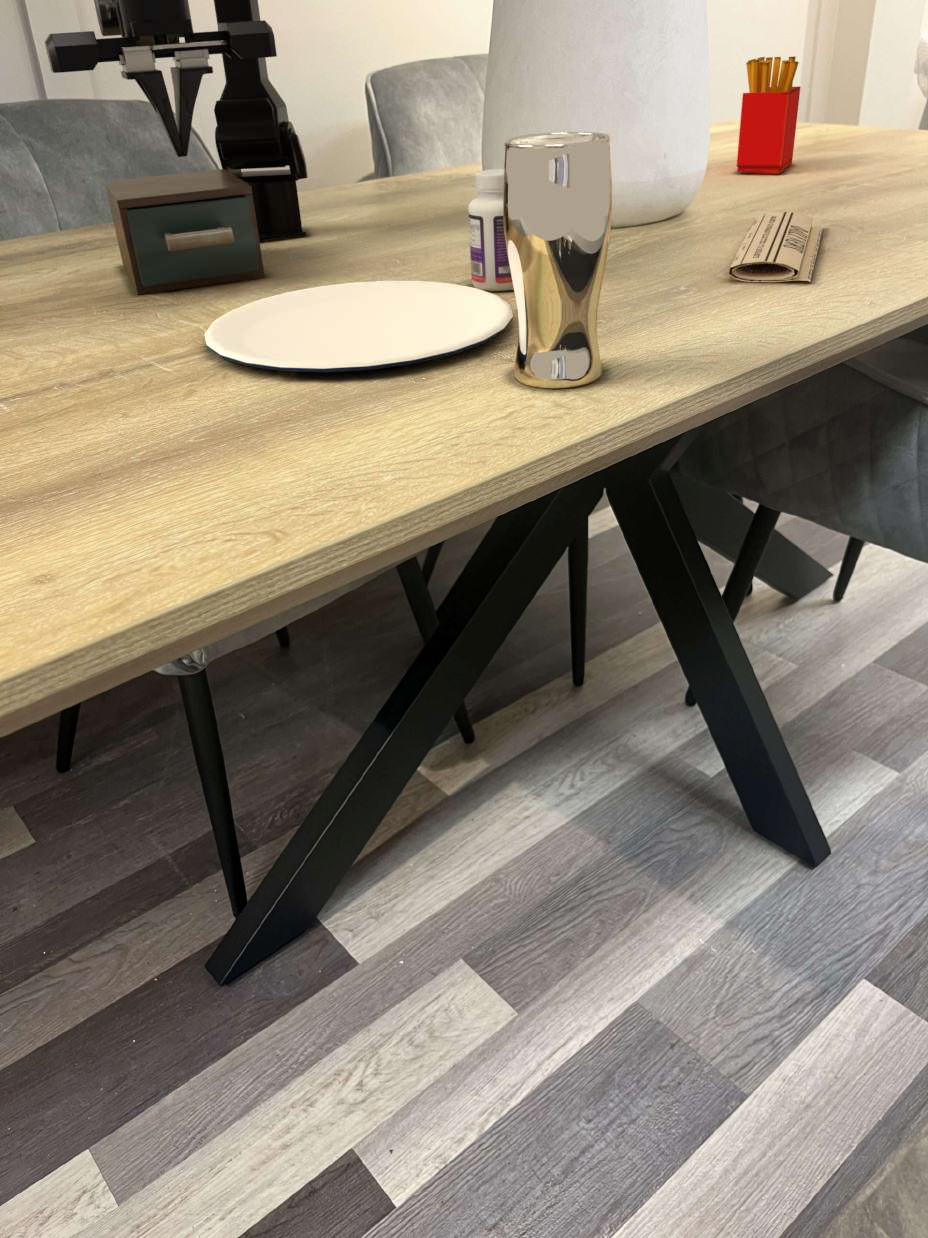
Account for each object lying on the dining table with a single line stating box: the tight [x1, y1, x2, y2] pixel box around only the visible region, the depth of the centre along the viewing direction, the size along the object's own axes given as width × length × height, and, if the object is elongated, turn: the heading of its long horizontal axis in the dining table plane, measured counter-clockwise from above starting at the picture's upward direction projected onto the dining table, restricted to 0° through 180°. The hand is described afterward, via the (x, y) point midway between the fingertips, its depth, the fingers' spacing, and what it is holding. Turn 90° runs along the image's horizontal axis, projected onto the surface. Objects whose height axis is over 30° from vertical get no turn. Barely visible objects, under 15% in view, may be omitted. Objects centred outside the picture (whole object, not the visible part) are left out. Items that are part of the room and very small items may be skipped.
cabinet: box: [104, 168, 266, 296], centre depth 102 cm, size 15×13×9 cm
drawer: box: [126, 196, 260, 287], centre depth 99 cm, size 18×11×7 cm, turn 22°
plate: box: [203, 280, 514, 373], centre depth 81 cm, size 25×25×1 cm
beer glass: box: [503, 131, 613, 389], centre depth 65 cm, size 7×7×15 cm
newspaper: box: [727, 210, 824, 283], centre depth 97 cm, size 24×7×2 cm, turn 161°
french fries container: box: [736, 55, 802, 174], centre depth 138 cm, size 7×9×14 cm
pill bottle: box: [467, 168, 514, 292], centre depth 90 cm, size 5×5×10 cm
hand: (182, 155), depth 90 cm, fingers closed
